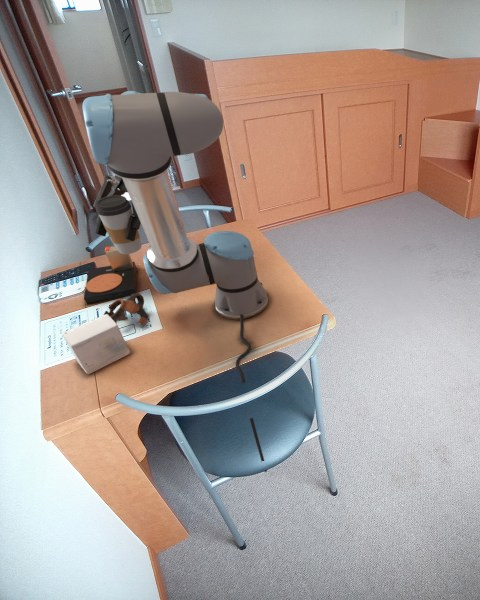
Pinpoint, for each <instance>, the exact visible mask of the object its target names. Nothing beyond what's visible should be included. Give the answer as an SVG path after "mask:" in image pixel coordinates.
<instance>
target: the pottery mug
mask: <svg viewBox="0 0 480 600" xmlns="http://www.w3.org/2000/svg"><path fill="white" fill-rule="evenodd" d="M136 300H137V301H136ZM144 305H145V299H144V296H143V295H142V294H141V293H140V292H136V293H135V294H132V295H131V296H128V297H127V299H124V298H118V299H115V300H114V301H113V302H112V303H110V305H109V306H107V308H108V309H109V310H105V311H104V313H103V315H105V314H108V315H109V316H110V317H111V318H112V319H113V320H114V322H115V323H116V324H117V325H118V322H117V321H119V322H120V321H123V322H125V321H127V320H128V319H129V317H127V316H126V312H127V313H129V314H130V315H135V314H136V315H139V316H140V317H139V319H138V320H137V323H138V324H139V325H141V326H142V327H145V325H146V324H147V323H148V320H149V318H150V316H149V314H148V313H147V312H146V310H145V309H144ZM116 309H117V310H116ZM115 310H116V311H115ZM114 311H115V312H114Z"/></svg>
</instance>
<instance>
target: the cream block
mask: <svg viewBox="0 0 480 600" xmlns="http://www.w3.org/2000/svg"><path fill="white" fill-rule="evenodd" d="M104 253H105V255H106V258H107V260H108V262H109V266H111V267H112V269H113V271H114V272H115V271H121V270H127V269H133V262H134V261H133V260H132V257H131V255H130V254H122V253H120V252H119V251H118V250H117V249H116V247H115V245H113V246H105V249H104Z"/></svg>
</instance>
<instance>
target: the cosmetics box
mask: <svg viewBox="0 0 480 600" xmlns="http://www.w3.org/2000/svg"><path fill="white" fill-rule="evenodd" d="M61 336H62V337H63V339H64V341H65V343H66V345H67V346H68V348H69V349H70V351H71V353H72V355H73V356H74V359H76V362H77V363H78V364H79V366H80V368H82V370H83V371H84V372H85V373H86V375H90V374H93V373H94V372H97V371H99V370H100V369H103V368H105V367H106V366H108V365H110V364H112V363H114V362H116V361H118V360H120V359H123V358H124V357H126V356H128V355H130V354H131V351H130V349H129V347H128V345H127V342H126V341H125V338H124V336H123V334H122V332H121V330H120V327H119V326H118V323H117V324H116V323H115V322H114V320H113V319H112V318H111V317H110V316H109V315H108V314H105V315H104V314H103V315H101V316H99V317H96V318H94V319H92V320H89V321H87V322H84V323H82V324H80V325H77V326H75V327H73V328H70V329H69V330H66V331H63V332H62V333H61Z"/></svg>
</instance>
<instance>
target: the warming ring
mask: <svg viewBox="0 0 480 600" xmlns="http://www.w3.org/2000/svg"><path fill="white" fill-rule="evenodd" d="M121 282H122V277H121V276H120V275H118V274H103V275H100V276H97V277H95V278H93V279H91V280H90V281H89V282H88V283H87V284H86V283H85V288H86V289H87V290H88V291H90V292H94V293H101V292H106V291H109V290H112V289H114V288H116V287H117V286H119V285H120V284H121Z"/></svg>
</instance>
